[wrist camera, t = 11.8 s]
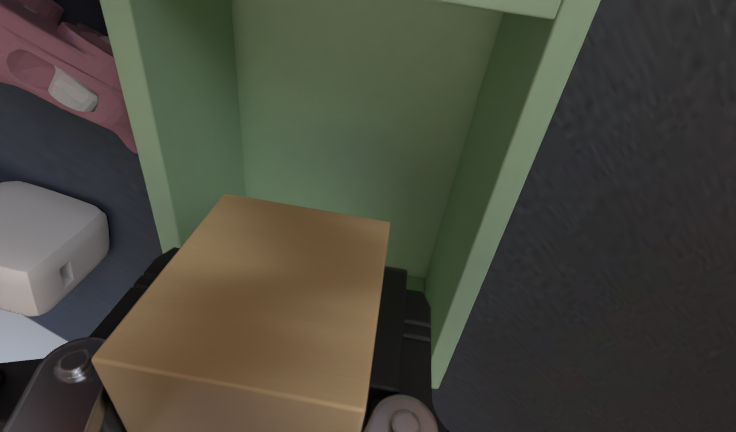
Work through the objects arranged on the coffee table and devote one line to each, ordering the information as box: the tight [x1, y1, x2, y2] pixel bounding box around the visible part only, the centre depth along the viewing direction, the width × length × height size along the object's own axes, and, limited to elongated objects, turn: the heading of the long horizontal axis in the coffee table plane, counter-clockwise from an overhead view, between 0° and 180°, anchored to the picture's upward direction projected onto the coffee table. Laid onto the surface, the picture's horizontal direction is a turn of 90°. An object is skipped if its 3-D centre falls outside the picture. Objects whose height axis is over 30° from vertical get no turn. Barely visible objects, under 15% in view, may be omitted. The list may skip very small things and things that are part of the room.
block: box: [91, 194, 390, 432], centre depth 9 cm, size 4×4×5 cm
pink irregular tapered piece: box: [0, 0, 138, 154], centre depth 14 cm, size 10×5×7 cm, turn 55°
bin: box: [100, 0, 601, 389], centre depth 15 cm, size 12×16×7 cm
